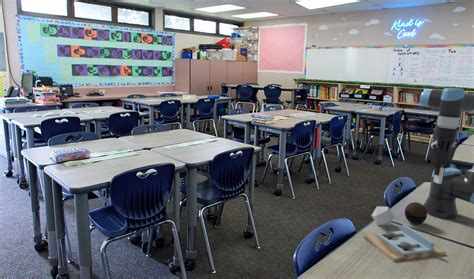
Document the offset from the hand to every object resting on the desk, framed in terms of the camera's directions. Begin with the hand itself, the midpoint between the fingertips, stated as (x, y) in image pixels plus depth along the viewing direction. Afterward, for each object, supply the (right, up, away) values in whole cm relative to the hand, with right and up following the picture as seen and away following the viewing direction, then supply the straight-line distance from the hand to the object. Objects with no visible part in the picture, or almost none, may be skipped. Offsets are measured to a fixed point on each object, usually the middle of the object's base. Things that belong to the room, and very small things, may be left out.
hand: (437, 182), depth 150 cm
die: (-17, -21, +15) cm, 31 cm away
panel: (-17, -24, -5) cm, 30 cm away
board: (-17, -25, -5) cm, 30 cm away
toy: (-1, -21, +18) cm, 28 cm away
